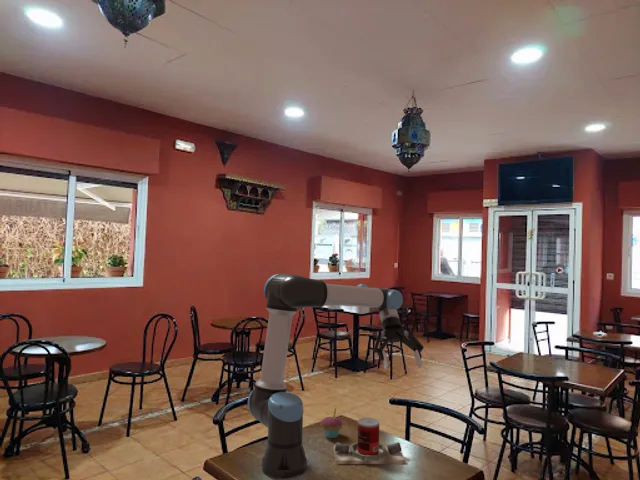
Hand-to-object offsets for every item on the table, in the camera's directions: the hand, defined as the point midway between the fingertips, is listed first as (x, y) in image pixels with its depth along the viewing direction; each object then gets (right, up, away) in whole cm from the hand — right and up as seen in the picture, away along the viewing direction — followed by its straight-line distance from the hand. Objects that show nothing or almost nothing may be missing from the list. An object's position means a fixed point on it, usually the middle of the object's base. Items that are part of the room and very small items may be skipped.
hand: (403, 367), depth 168 cm
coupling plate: (-15, -29, -9) cm, 34 cm away
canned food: (-15, -28, -9) cm, 33 cm away
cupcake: (-27, -30, +8) cm, 41 cm away
